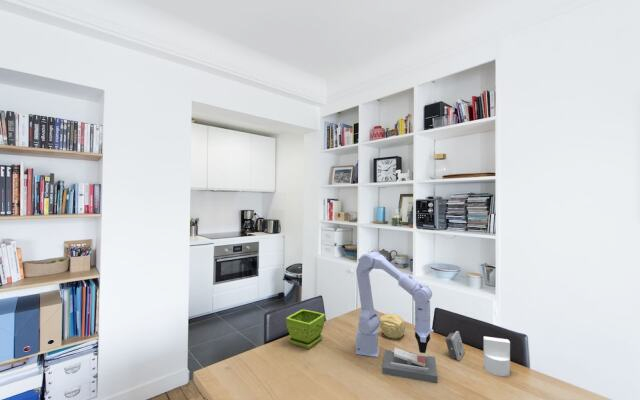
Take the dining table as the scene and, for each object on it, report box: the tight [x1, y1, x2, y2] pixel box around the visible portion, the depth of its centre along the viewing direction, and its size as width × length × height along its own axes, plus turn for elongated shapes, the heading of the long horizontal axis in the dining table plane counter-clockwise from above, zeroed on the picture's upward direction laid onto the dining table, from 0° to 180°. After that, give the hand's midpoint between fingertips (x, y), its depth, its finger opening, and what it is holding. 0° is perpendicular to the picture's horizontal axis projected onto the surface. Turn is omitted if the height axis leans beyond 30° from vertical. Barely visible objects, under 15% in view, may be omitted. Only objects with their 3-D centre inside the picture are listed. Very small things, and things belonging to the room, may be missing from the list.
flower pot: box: [285, 308, 326, 349], centre depth 140 cm, size 14×14×13 cm
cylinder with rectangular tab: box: [483, 335, 511, 378], centre depth 118 cm, size 9×9×12 cm
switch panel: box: [381, 349, 439, 384], centre depth 119 cm, size 20×14×5 cm
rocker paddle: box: [393, 347, 425, 367], centre depth 119 cm, size 12×5×1 cm, turn 73°
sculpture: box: [379, 313, 406, 340], centre depth 147 cm, size 11×12×11 cm
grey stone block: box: [445, 330, 466, 362], centre depth 129 cm, size 9×5×9 cm, turn 141°
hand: (422, 352), depth 117 cm, fingers closed
